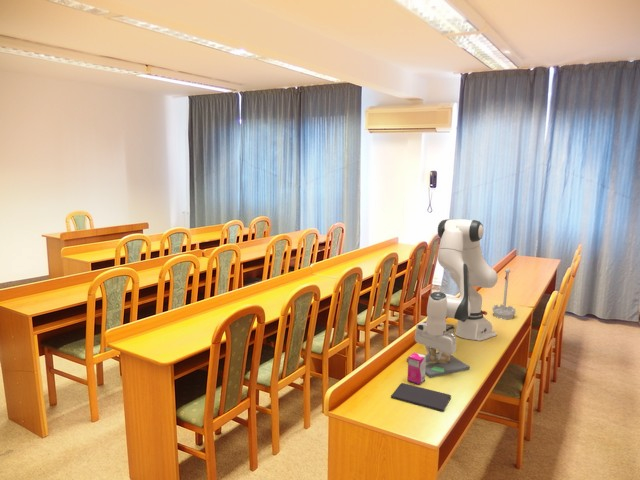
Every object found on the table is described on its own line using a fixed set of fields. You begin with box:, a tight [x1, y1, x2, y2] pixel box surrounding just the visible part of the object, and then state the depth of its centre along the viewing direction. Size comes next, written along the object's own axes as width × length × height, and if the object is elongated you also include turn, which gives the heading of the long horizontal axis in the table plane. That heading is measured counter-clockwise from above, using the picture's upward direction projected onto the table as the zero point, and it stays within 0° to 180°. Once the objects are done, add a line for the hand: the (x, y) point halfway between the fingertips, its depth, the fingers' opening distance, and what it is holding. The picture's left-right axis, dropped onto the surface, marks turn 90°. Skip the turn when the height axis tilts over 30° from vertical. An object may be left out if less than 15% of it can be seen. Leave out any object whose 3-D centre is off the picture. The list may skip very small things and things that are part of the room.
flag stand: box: [492, 267, 517, 320], centre depth 288 cm, size 13×13×30 cm
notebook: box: [390, 382, 452, 413], centre depth 193 cm, size 13×2×21 cm
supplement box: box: [407, 352, 426, 386], centre depth 207 cm, size 6×6×12 cm
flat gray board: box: [406, 351, 471, 379], centre depth 222 cm, size 22×19×2 cm
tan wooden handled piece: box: [426, 347, 450, 365], centre depth 221 cm, size 14×6×8 cm, turn 124°
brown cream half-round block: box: [446, 323, 456, 335], centre depth 246 cm, size 12×6×10 cm, turn 134°
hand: (434, 357), depth 219 cm, fingers open, 3 cm apart
